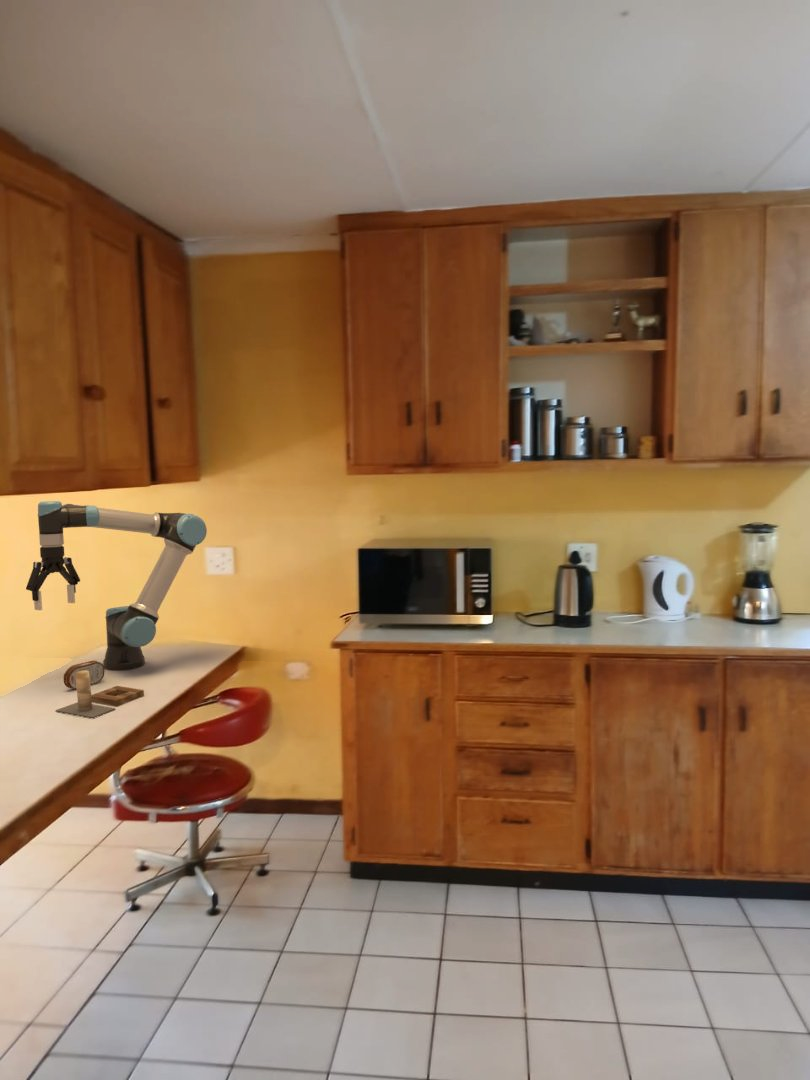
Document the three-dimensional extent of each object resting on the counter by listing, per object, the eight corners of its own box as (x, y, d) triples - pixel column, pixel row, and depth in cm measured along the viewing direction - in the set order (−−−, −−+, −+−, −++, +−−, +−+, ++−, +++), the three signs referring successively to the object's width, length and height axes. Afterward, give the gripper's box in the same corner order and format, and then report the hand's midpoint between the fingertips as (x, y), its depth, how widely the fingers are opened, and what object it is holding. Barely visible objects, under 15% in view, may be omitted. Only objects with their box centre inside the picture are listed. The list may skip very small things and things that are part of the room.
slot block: (117, 691, 252) (117, 685, 252) (143, 695, 247) (143, 690, 247) (89, 701, 241) (89, 695, 241) (116, 706, 236) (116, 700, 236)
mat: (78, 703, 240) (78, 701, 239) (115, 709, 233) (115, 708, 233) (55, 711, 231) (55, 710, 231) (92, 718, 225) (92, 717, 225)
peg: (85, 706, 235) (82, 670, 233) (95, 707, 233) (91, 671, 232) (75, 710, 231) (72, 673, 230) (85, 711, 230) (81, 674, 228)
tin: (101, 680, 265) (100, 657, 264) (106, 681, 264) (105, 658, 263) (63, 691, 252) (62, 667, 251) (69, 692, 251) (67, 668, 250)
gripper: (73, 541, 265) (76, 599, 267) (12, 549, 243) (15, 612, 245) (88, 542, 262) (91, 600, 264) (27, 550, 240) (31, 613, 242)
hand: (55, 606), depth 255 cm, fingers open, 13 cm apart
